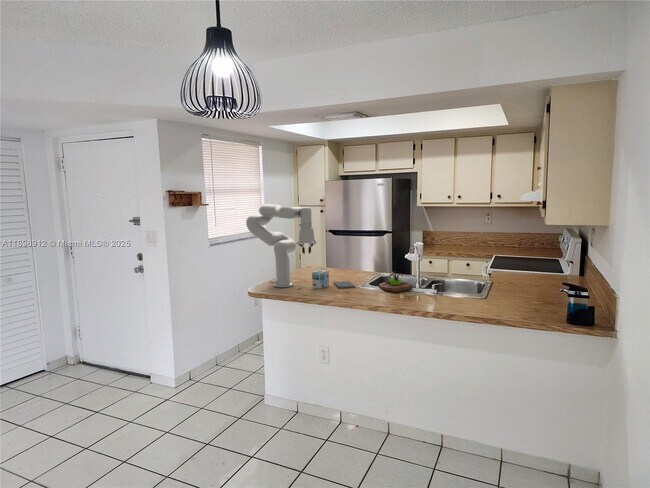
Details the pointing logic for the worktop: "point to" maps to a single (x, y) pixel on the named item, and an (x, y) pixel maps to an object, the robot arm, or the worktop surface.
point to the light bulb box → (320, 279)
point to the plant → (395, 284)
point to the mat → (344, 284)
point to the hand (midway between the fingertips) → (306, 253)
